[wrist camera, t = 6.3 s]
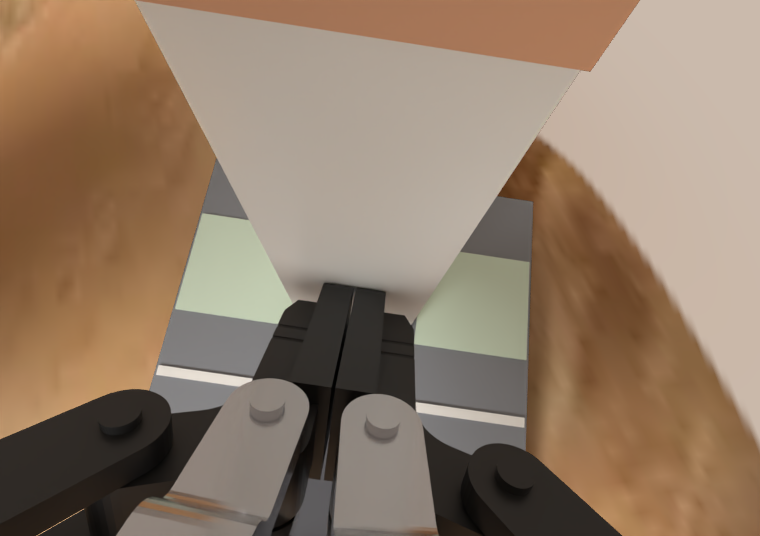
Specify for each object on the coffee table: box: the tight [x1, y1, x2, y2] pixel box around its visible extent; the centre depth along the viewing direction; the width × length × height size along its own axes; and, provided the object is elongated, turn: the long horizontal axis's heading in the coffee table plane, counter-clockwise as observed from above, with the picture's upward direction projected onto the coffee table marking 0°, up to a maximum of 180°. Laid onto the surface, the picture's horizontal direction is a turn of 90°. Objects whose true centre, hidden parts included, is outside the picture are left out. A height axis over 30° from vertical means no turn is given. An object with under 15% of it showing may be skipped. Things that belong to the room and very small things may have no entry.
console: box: [149, 159, 533, 536], centre depth 14 cm, size 12×16×4 cm
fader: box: [135, 0, 640, 324], centre depth 9 cm, size 4×4×13 cm
